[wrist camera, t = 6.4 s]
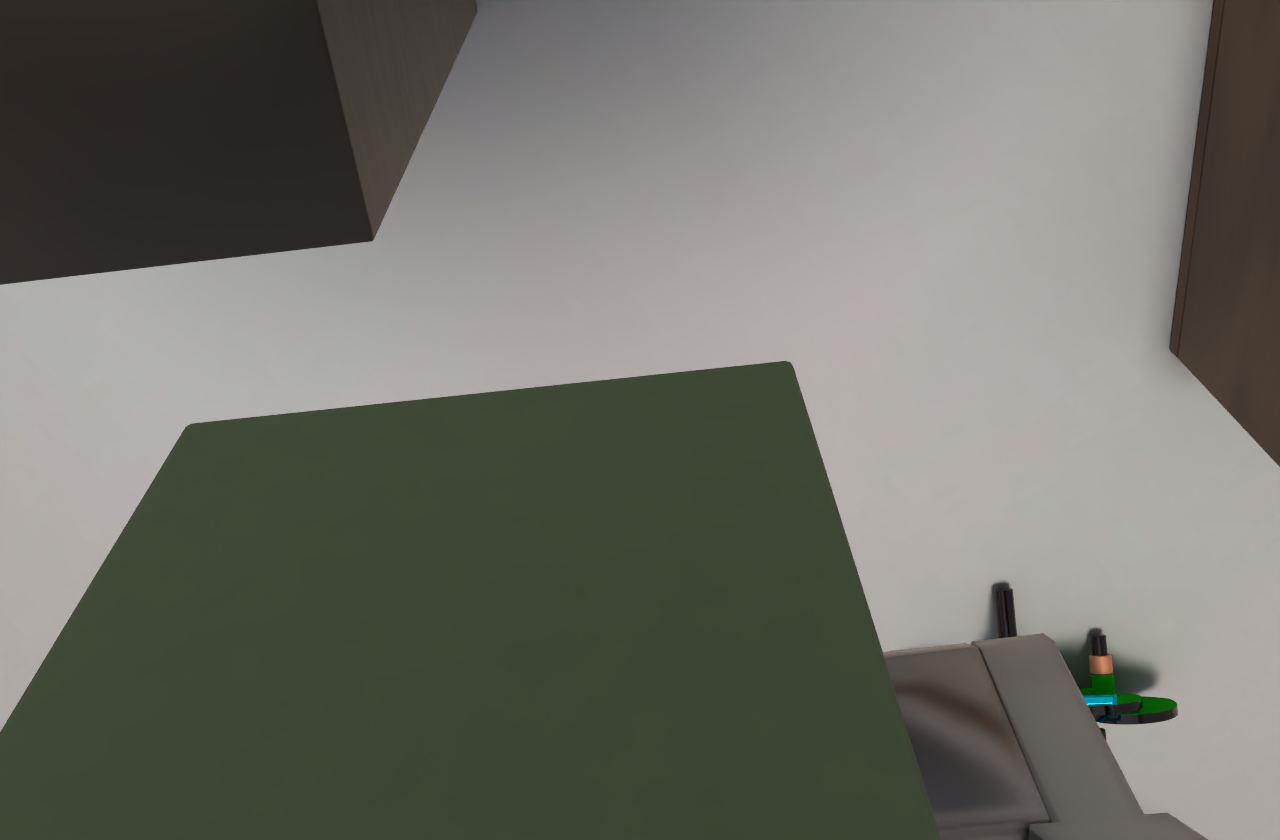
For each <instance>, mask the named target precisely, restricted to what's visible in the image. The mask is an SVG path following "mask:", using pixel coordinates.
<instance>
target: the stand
mask: <svg viewBox="0 0 1280 840" xmlns="http://www.w3.org/2000/svg"><path fill="white" fill-rule="evenodd" d="M476 14H477V8H476V2H475V0H0V285H1V284H9V283H18V282H26V281H35V280H44V279H52V278H61V277H69V276H78V275H86V274H95V273H104V272H112V271H121V270H129V269H138V268H146V267H155V266H164V265H172V264H181V263H189V262H198V261H206V260H215V259H224V258H232V257H241V256H249V255H258V254H267V253H275V252H284V251H292V250H301V249H309V248H318V247H327V246H335V245H344V244H352V243H361V242H369V241H373V240H374V238H375V236H376V234H377V231H378V229H379V227H380V225H381V223H382V220H383V218H384V216H385V214H386V212H387V209H388V207H389V205H390V203H391V201H392V198H393V196H394V194H395V192H396V190H397V187H398V185H399V183H400V181H401V179H402V176H403V174H404V172H405V170H406V168H407V165H408V163H409V161H410V159H411V157H412V154H413V152H414V150H415V148H416V146H417V143H418V141H419V139H420V137H421V135H422V132H423V130H424V128H425V126H426V124H427V121H428V119H429V117H430V115H431V113H432V110H433V108H434V106H435V104H436V102H437V99H438V97H439V95H440V93H441V91H442V88H443V86H444V84H445V82H446V80H447V77H448V75H449V73H450V71H451V69H452V66H453V64H454V62H455V60H456V58H457V55H458V53H459V51H460V49H461V47H462V44H463V42H464V40H465V38H466V36H467V33H468V31H469V29H470V27H471V25H472V22H473V20H474V18H475V16H476Z"/></svg>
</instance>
